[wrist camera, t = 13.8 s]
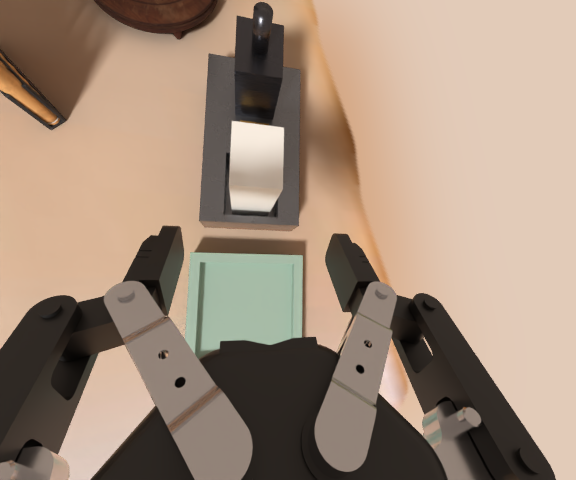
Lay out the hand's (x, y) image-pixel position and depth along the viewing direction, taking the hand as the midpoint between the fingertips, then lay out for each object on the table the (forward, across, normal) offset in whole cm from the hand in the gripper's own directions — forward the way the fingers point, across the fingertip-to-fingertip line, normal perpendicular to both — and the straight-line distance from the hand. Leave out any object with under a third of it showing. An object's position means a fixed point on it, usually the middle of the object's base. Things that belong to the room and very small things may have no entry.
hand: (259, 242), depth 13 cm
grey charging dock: (+20, 0, +2) cm, 20 cm away
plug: (+15, 0, +5) cm, 16 cm away
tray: (+7, 0, +15) cm, 17 cm away
